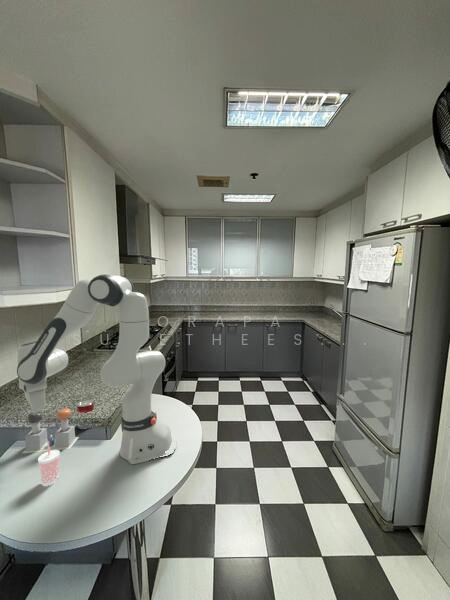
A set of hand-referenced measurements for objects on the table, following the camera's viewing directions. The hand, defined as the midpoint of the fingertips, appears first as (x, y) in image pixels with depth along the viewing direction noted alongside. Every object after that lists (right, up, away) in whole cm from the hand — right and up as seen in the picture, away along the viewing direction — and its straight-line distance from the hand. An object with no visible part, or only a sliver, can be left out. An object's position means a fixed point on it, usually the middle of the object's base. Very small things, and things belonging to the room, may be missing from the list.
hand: (34, 414), depth 101 cm
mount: (+6, -15, +1) cm, 16 cm away
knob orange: (+11, -9, +2) cm, 14 cm away
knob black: (0, -9, 0) cm, 9 cm away
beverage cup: (+18, -15, -17) cm, 29 cm away
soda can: (+13, -14, +15) cm, 24 cm away
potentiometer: (+6, -14, +1) cm, 15 cm away
